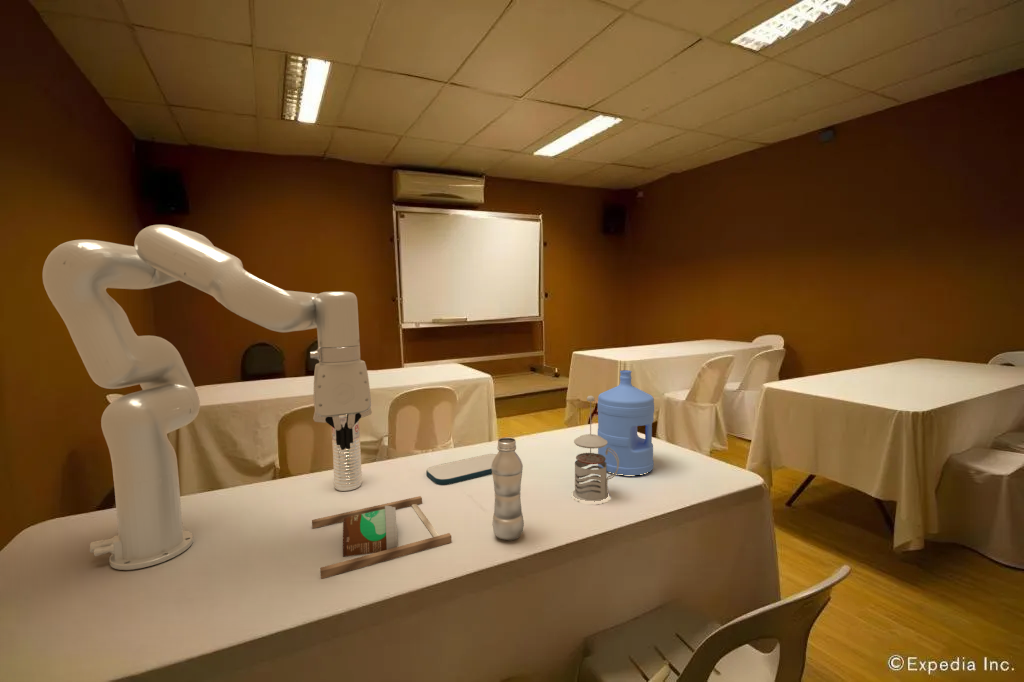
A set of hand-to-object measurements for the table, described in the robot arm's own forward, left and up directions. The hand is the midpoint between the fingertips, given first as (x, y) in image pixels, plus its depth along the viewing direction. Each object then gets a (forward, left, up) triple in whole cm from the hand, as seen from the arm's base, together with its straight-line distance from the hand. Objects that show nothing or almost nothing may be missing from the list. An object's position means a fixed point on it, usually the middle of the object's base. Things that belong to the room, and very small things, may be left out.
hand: (345, 447), depth 87 cm
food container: (-1, 0, -16) cm, 16 cm away
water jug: (+76, +3, -20) cm, 78 cm away
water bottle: (+4, +29, -20) cm, 35 cm away
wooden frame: (+6, 0, -19) cm, 20 cm away
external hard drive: (+36, +23, -20) cm, 47 cm away
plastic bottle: (+29, -14, -20) cm, 38 cm away
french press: (+56, -8, -20) cm, 60 cm away
